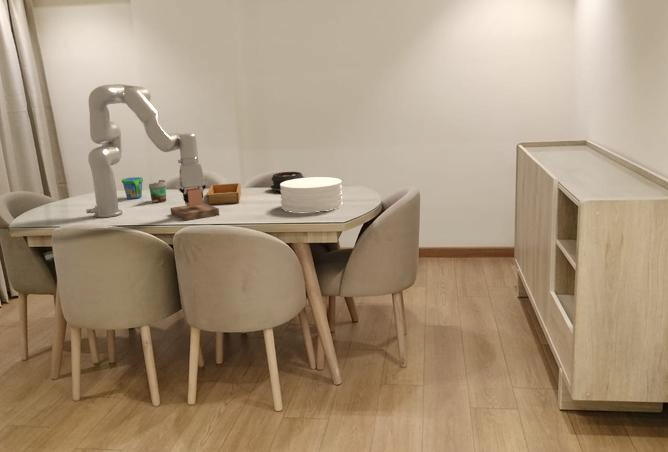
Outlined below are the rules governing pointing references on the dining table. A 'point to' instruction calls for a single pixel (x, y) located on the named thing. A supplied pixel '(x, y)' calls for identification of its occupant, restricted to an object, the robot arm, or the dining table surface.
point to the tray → (224, 194)
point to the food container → (158, 191)
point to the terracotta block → (194, 197)
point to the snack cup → (133, 187)
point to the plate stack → (311, 194)
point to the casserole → (284, 178)
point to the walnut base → (194, 211)
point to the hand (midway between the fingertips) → (193, 200)
